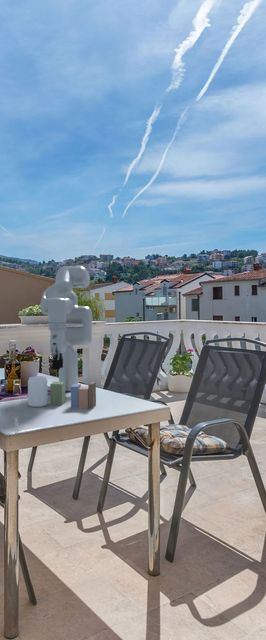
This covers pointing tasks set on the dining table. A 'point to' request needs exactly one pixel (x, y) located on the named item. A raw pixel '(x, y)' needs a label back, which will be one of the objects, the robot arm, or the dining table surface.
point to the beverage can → (37, 391)
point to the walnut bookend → (92, 394)
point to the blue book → (74, 395)
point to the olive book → (57, 393)
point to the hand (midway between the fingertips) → (57, 368)
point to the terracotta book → (83, 397)
